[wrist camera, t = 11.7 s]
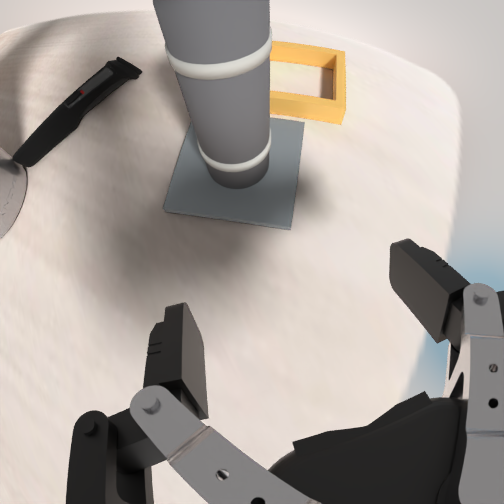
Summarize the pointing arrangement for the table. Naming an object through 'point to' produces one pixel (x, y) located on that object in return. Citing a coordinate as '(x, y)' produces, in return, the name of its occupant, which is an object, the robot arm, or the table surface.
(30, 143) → the electric trimmer
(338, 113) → the yellow square frame
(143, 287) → the table surface
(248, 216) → the slate mat
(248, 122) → the dark grey banded cylinder
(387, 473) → the robot arm
